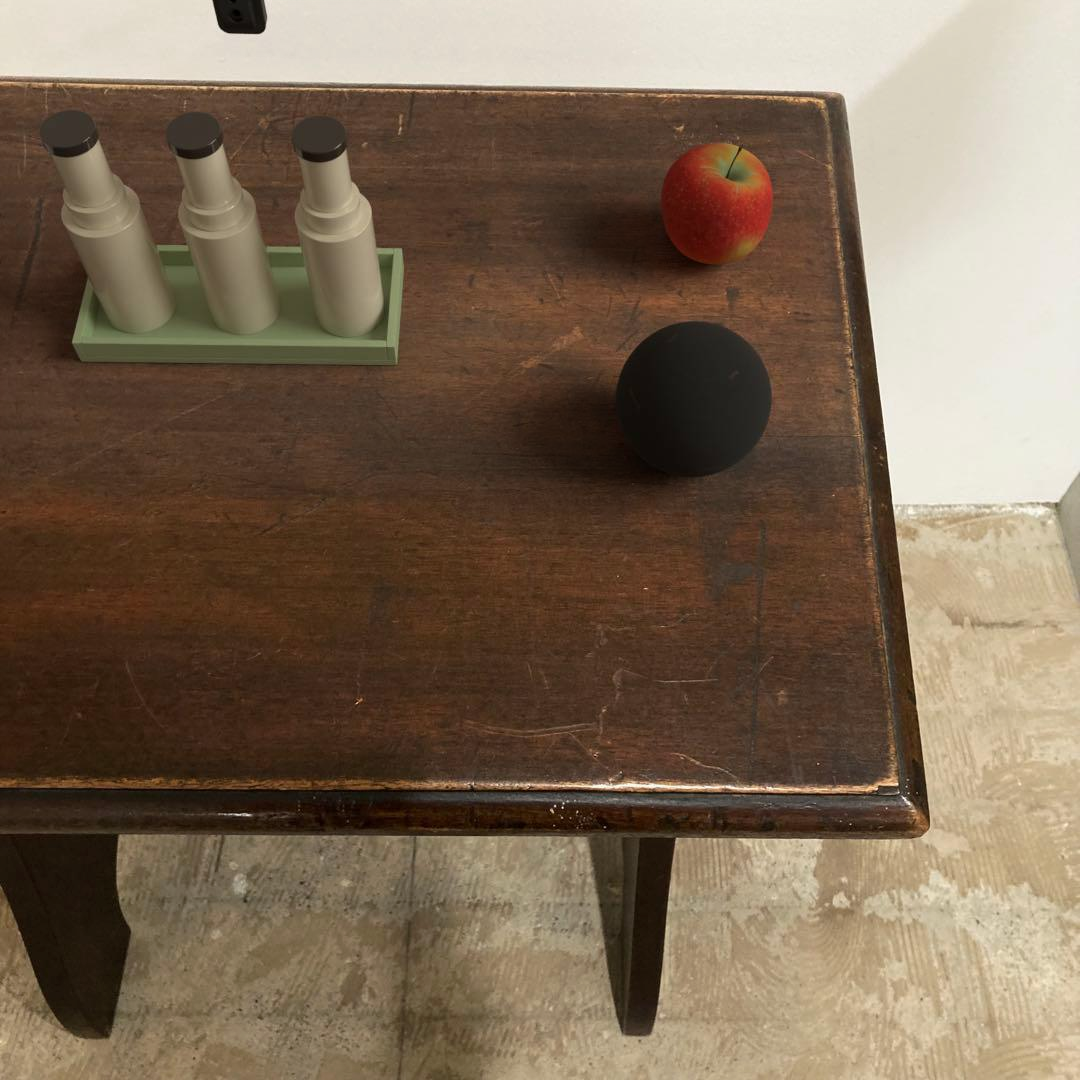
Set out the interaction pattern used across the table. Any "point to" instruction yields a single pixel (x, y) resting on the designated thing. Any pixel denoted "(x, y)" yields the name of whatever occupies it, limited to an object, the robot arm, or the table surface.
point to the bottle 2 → (222, 229)
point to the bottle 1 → (107, 227)
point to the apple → (716, 203)
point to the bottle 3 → (336, 232)
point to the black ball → (693, 399)
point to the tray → (279, 343)
